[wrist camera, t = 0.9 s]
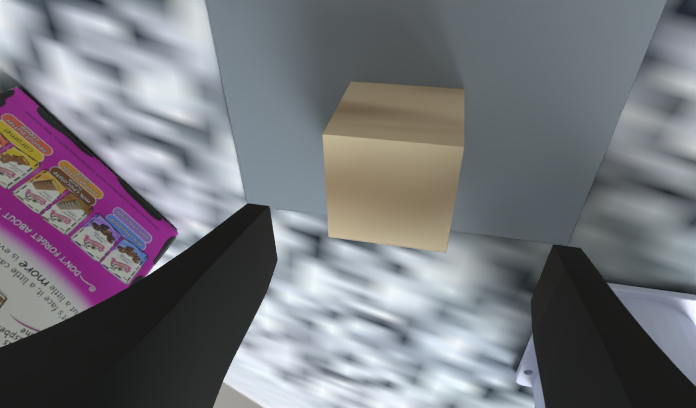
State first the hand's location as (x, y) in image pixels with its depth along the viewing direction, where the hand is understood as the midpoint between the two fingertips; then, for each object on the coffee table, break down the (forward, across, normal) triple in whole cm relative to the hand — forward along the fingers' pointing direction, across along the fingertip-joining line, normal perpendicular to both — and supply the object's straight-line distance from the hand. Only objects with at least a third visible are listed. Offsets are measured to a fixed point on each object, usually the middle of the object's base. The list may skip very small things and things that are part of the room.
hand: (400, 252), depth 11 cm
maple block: (+8, +1, +1) cm, 8 cm away
